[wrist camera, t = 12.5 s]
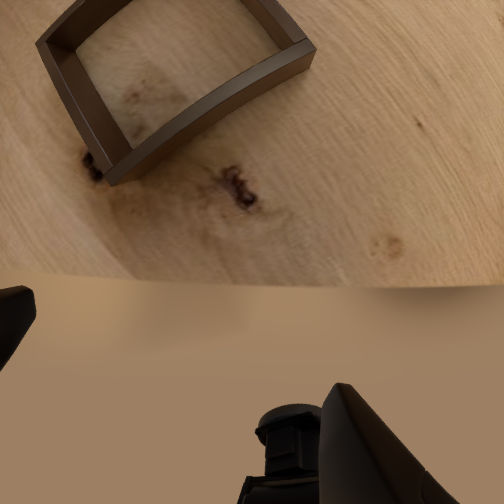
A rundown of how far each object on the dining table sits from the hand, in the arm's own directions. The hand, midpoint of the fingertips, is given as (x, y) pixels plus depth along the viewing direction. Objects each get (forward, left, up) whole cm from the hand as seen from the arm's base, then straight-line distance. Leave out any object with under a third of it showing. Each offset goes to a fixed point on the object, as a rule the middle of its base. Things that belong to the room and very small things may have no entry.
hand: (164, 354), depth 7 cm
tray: (+12, -3, -12) cm, 17 cm away
